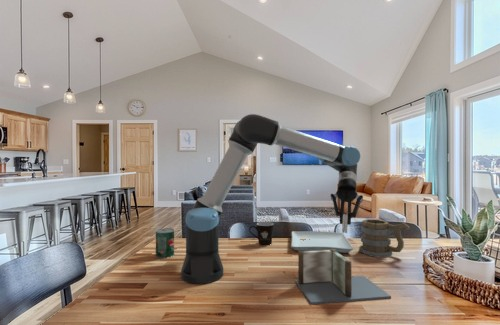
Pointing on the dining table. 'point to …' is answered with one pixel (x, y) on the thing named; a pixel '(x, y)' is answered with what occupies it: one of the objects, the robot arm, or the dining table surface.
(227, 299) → the dining table surface
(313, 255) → the panel
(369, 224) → the tankard
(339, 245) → the square plate
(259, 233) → the coffee mug
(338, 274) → the folding panel
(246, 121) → the robot arm
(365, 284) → the card
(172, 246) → the canned tomato
